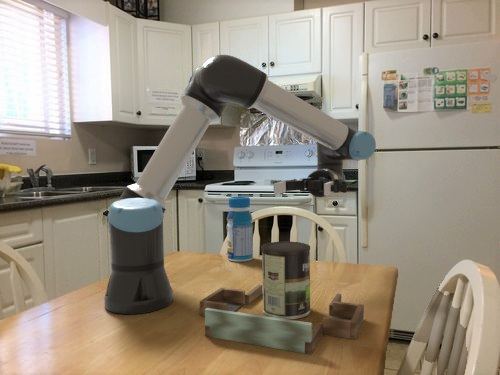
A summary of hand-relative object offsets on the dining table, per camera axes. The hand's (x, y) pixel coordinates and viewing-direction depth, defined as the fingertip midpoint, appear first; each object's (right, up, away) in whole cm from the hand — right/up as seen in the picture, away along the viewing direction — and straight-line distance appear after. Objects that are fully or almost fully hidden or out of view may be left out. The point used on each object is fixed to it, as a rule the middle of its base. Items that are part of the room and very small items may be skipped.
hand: (300, 189), depth 99 cm
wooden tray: (-6, -26, -12) cm, 29 cm away
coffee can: (-4, -26, -8) cm, 28 cm away
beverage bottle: (-15, -23, +38) cm, 46 cm away
